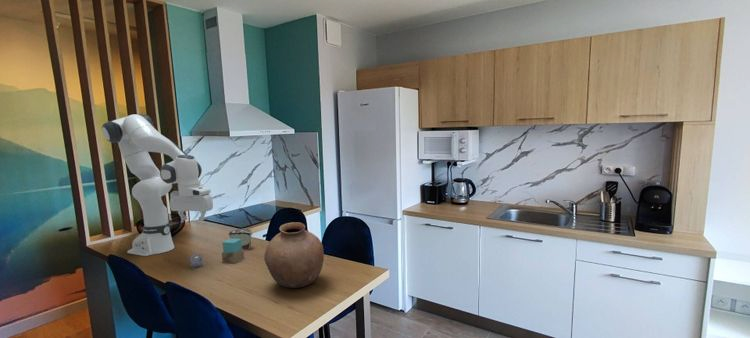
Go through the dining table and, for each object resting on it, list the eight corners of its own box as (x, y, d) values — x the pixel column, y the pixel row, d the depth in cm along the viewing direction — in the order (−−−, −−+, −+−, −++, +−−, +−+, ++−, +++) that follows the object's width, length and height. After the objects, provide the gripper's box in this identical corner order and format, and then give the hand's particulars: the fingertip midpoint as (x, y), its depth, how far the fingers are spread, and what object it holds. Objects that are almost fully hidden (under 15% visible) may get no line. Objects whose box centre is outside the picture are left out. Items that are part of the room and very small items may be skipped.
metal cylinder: (188, 268, 165) (187, 257, 165) (196, 264, 170) (195, 253, 170) (198, 268, 164) (197, 258, 164) (205, 264, 169) (204, 254, 169)
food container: (257, 246, 193) (255, 228, 192) (252, 250, 187) (250, 231, 186) (235, 246, 195) (233, 228, 193) (229, 250, 188) (228, 231, 187)
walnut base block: (222, 263, 171) (221, 253, 170) (231, 257, 177) (230, 248, 177) (235, 263, 169) (234, 253, 169) (244, 258, 176) (243, 248, 175)
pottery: (300, 268, 160) (297, 214, 158) (337, 281, 146) (334, 221, 143) (255, 287, 143) (250, 226, 140) (291, 303, 128) (287, 236, 125)
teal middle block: (223, 252, 171) (222, 242, 170) (230, 248, 176) (230, 238, 176) (234, 253, 169) (233, 242, 169) (241, 248, 175) (241, 238, 175)
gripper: (164, 192, 162) (168, 221, 164) (204, 191, 158) (207, 222, 160) (175, 189, 168) (178, 218, 170) (213, 189, 164) (216, 218, 166)
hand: (192, 220), depth 165 cm, fingers open, 8 cm apart
